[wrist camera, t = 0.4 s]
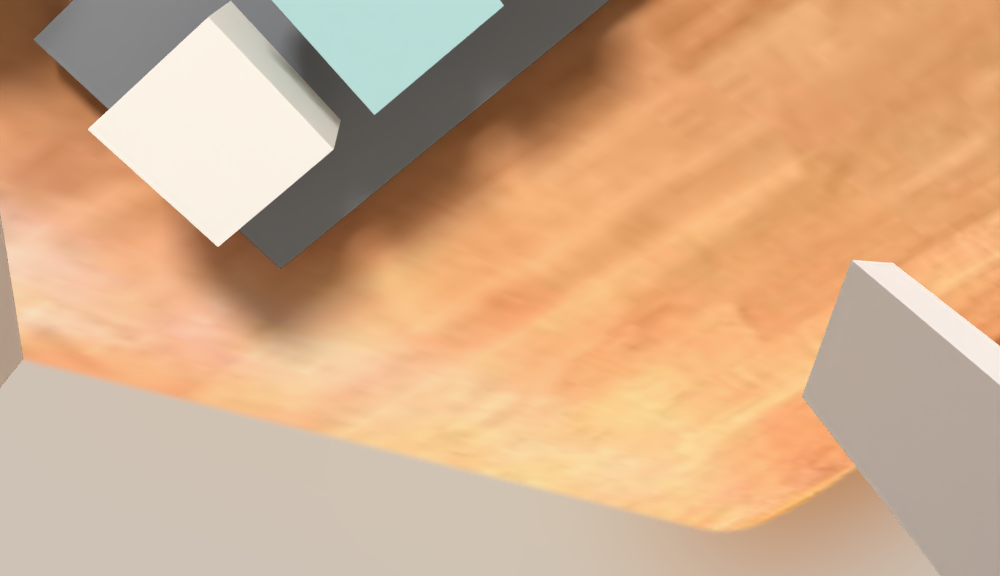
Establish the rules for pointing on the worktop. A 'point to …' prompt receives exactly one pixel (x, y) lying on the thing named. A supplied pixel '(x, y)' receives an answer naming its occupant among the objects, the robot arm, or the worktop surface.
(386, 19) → the teal key
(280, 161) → the ivory key
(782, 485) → the worktop surface
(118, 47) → the console
